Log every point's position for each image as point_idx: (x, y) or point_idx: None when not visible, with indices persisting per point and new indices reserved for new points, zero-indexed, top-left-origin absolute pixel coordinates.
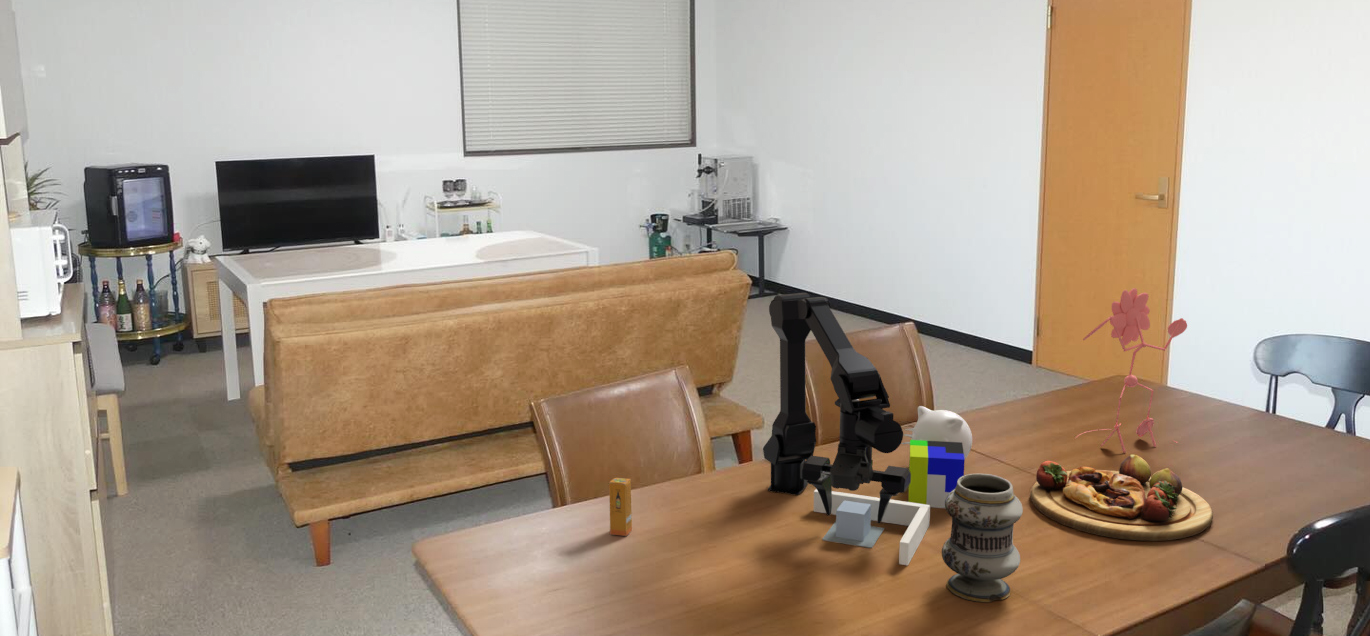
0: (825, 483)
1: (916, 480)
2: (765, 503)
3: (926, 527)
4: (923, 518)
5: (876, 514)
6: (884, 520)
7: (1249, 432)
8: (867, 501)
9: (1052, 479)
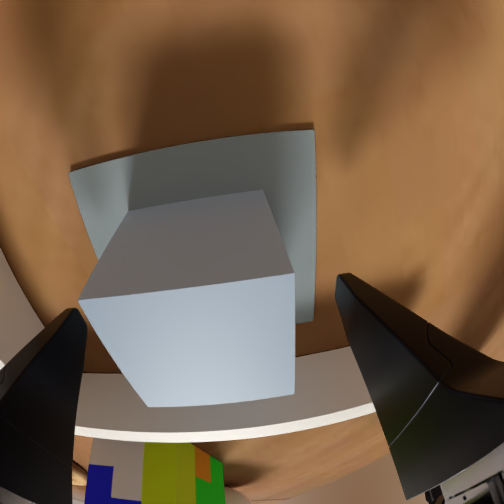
0: (464, 440)
1: (161, 488)
2: (489, 305)
3: None
4: None
5: None
6: None
7: (76, 497)
8: (224, 422)
9: None
